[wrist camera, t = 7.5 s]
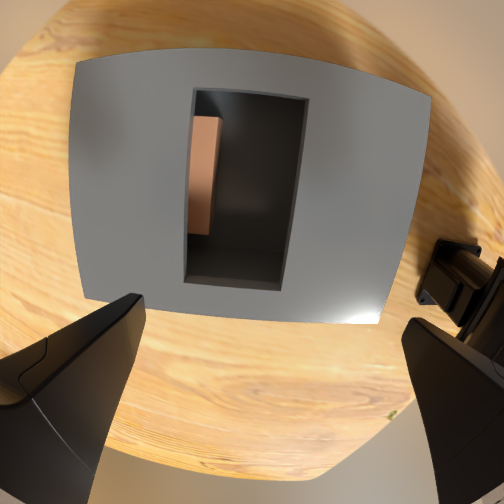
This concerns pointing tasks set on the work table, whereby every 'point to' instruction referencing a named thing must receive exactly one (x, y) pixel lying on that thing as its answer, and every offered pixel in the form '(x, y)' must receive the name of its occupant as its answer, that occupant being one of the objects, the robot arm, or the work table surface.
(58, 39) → the work table surface
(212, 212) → the block
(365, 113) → the box
